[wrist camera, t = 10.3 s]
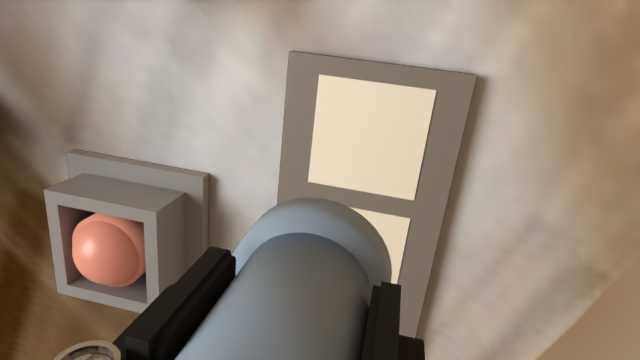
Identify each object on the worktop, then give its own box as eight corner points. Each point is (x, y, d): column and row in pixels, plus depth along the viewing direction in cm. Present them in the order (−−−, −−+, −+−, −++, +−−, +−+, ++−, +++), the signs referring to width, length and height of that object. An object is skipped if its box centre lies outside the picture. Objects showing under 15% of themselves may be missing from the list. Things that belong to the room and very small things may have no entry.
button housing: (207, 299, 37) (177, 337, 32) (87, 272, 39) (43, 304, 34) (209, 173, 33) (175, 196, 28) (75, 149, 35) (23, 166, 30)
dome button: (169, 269, 35) (127, 310, 30) (106, 255, 36) (56, 292, 31) (168, 206, 33) (123, 237, 28) (101, 192, 34) (46, 220, 29)
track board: (398, 401, 36) (397, 412, 35) (267, 368, 38) (263, 377, 37) (474, 74, 26) (476, 75, 25) (292, 51, 28) (288, 51, 27)
